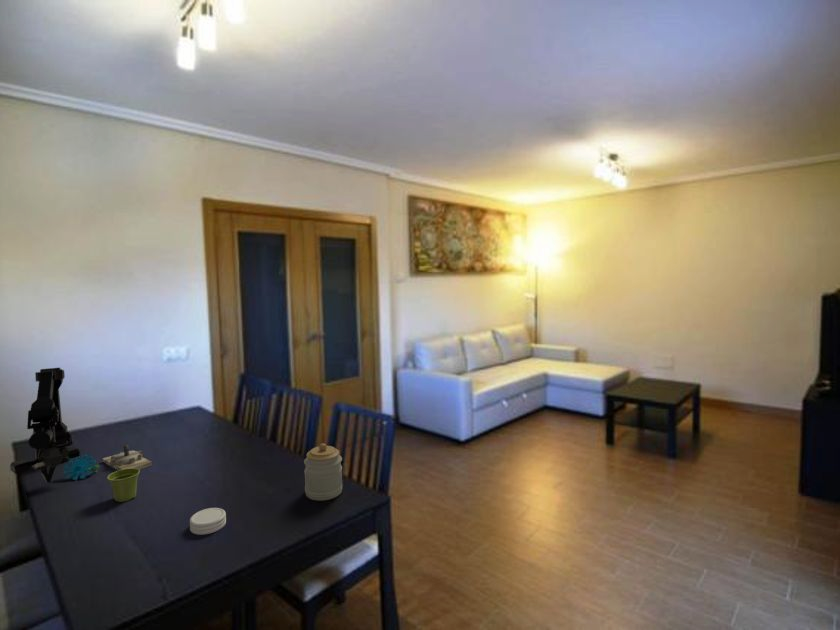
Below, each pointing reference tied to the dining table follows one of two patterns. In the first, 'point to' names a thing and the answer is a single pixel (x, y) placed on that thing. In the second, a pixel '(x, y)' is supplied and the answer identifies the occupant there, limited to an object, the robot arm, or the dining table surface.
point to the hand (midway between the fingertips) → (48, 482)
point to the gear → (81, 467)
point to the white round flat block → (207, 521)
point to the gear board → (135, 465)
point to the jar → (323, 473)
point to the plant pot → (124, 483)
